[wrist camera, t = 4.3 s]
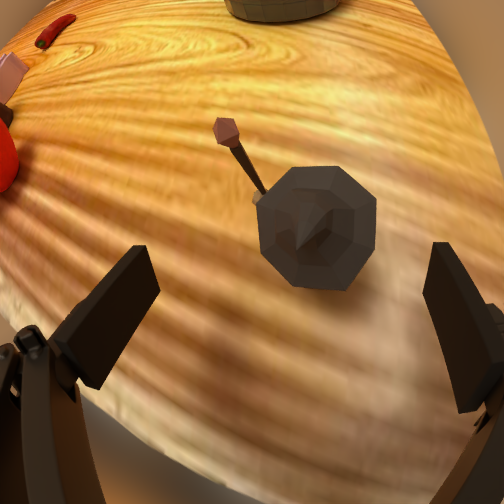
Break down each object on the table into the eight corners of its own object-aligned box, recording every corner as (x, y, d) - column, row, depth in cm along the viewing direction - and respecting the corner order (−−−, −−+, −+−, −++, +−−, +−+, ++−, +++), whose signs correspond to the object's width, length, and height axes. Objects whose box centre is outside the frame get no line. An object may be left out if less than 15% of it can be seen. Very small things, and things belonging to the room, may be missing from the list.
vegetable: (41, 41, 40) (76, 10, 44) (27, 40, 40) (61, 10, 43) (46, 54, 45) (79, 24, 48) (32, 53, 44) (65, 23, 48)
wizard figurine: (368, 244, 21) (411, 155, 10) (338, 317, 20) (361, 301, 9) (265, 203, 23) (216, 97, 12) (233, 269, 23) (149, 208, 11)
